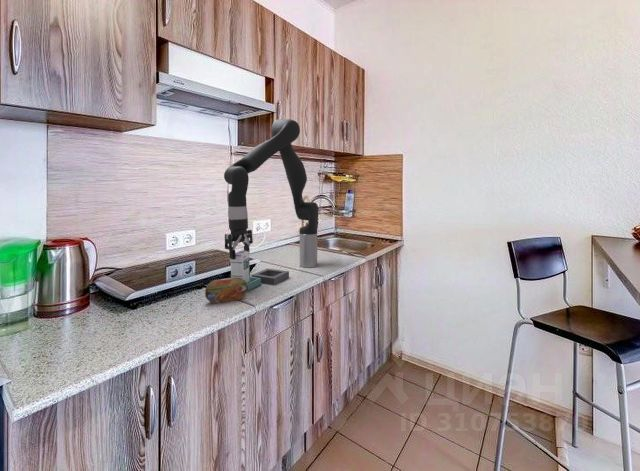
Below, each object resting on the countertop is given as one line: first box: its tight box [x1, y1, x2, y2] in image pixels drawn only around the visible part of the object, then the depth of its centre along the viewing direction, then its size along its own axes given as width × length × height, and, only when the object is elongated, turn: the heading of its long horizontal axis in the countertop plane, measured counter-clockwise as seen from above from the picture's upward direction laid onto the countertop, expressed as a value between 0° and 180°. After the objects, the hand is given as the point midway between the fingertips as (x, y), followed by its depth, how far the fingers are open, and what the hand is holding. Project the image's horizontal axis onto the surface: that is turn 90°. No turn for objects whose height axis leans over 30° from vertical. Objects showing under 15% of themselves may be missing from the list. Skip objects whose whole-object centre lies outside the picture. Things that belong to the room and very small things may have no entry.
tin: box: [204, 277, 249, 304], centre depth 114 cm, size 15×3×8 cm, turn 114°
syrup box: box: [229, 250, 251, 283], centre depth 128 cm, size 6×6×14 cm
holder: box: [250, 268, 290, 286], centre depth 140 cm, size 12×12×3 cm
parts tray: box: [247, 276, 262, 292], centre depth 129 cm, size 12×12×3 cm
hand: (240, 256), depth 128 cm, fingers open, 8 cm apart
